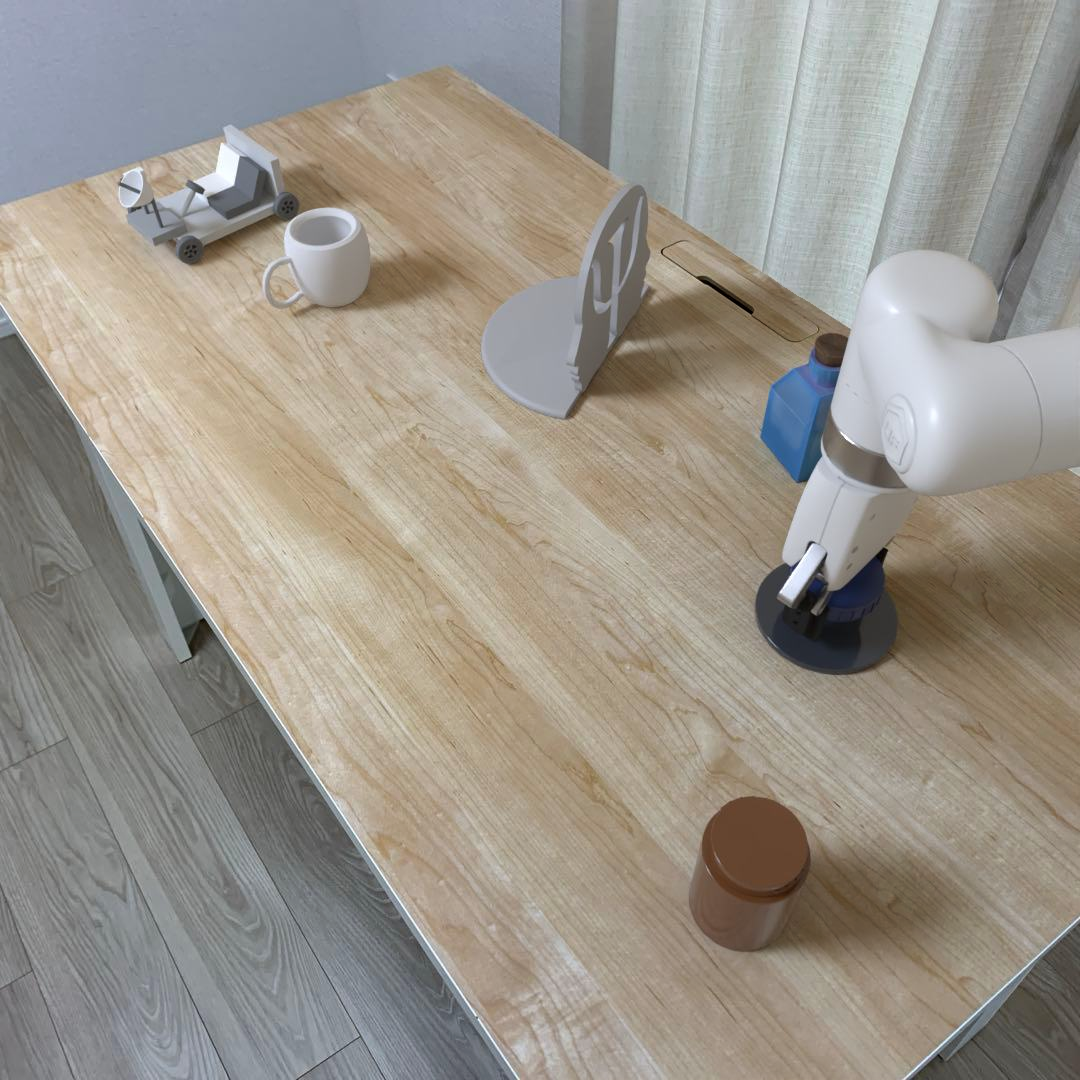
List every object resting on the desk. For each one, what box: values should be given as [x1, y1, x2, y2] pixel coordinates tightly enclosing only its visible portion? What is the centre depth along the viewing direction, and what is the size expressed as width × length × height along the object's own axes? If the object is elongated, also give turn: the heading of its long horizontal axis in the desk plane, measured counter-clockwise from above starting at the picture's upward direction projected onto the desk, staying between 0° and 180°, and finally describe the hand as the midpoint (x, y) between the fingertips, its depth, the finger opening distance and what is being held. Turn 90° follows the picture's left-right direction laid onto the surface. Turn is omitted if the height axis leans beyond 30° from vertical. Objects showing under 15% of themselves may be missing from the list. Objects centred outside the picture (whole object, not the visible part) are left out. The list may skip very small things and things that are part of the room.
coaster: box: [754, 562, 899, 675], centre depth 82 cm, size 11×11×1 cm
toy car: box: [117, 124, 300, 265], centre depth 115 cm, size 18×10×12 cm
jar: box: [688, 795, 812, 953], centre depth 64 cm, size 6×6×9 cm
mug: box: [261, 207, 372, 309], centre depth 106 cm, size 12×8×8 cm
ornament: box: [480, 182, 651, 420], centre depth 99 cm, size 22×13×17 cm, turn 155°
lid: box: [788, 556, 886, 622], centre depth 79 cm, size 7×7×2 cm
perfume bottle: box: [759, 332, 849, 484], centre depth 90 cm, size 6×6×12 cm
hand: (829, 599), depth 81 cm, fingers closed on lid, 6 cm apart
